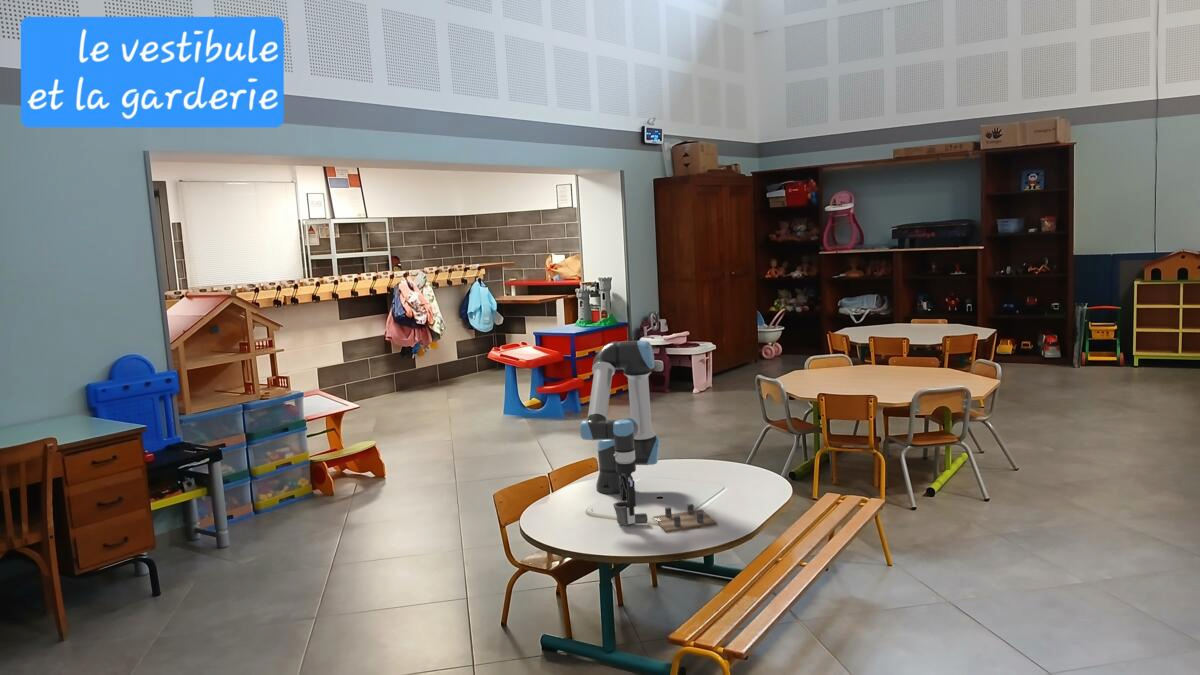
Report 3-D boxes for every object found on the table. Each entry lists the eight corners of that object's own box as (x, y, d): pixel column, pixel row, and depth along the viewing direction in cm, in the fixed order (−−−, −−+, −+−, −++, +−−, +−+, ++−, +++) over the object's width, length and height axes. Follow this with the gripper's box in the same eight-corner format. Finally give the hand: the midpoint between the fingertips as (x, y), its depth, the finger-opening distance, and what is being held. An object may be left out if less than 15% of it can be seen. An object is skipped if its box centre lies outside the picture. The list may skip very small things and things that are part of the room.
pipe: (646, 527, 322) (645, 507, 320) (612, 526, 324) (611, 507, 323) (648, 520, 328) (647, 500, 326) (615, 520, 330) (614, 500, 329)
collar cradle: (652, 519, 330) (652, 507, 330) (701, 511, 335) (701, 500, 334) (665, 532, 315) (665, 520, 314) (717, 525, 319) (716, 513, 319)
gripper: (609, 456, 332) (613, 513, 335) (622, 469, 313) (626, 530, 316) (628, 453, 333) (631, 511, 336) (642, 466, 315) (645, 527, 318)
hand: (629, 520), depth 326 cm, fingers closed on pipe, 6 cm apart
